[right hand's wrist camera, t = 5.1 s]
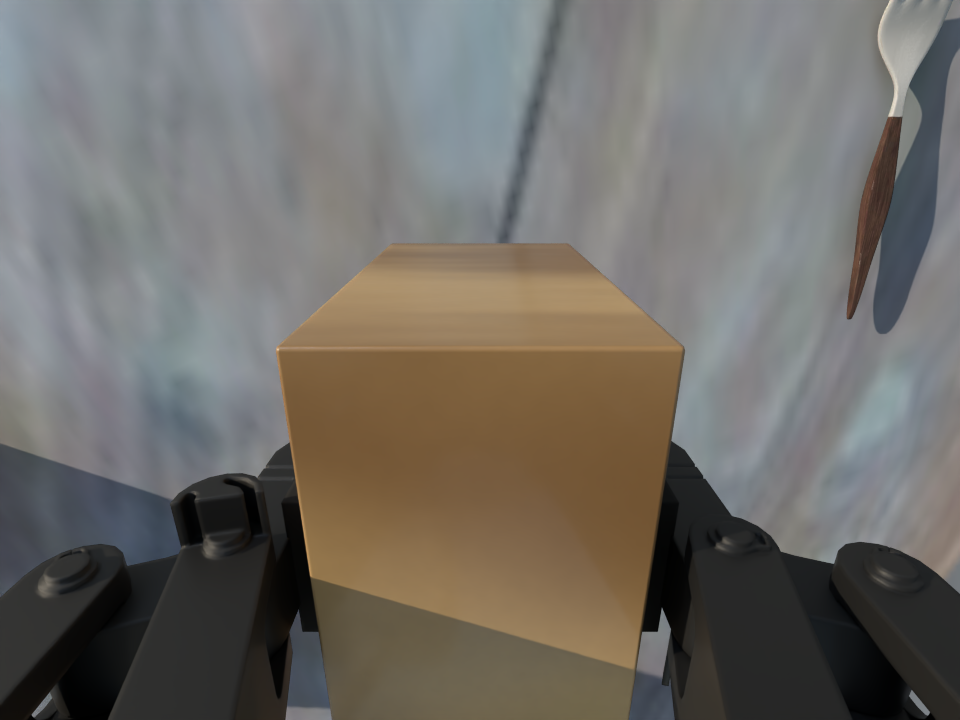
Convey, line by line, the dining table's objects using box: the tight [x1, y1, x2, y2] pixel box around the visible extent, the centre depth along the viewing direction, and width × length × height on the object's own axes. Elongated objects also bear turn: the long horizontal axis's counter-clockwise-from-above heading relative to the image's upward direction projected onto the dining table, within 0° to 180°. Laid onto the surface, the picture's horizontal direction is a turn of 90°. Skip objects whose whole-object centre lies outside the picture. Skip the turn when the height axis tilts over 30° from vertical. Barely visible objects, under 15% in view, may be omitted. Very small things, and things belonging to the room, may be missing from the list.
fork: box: [847, 0, 953, 319], centre depth 22 cm, size 3×16×2 cm, turn 2°
